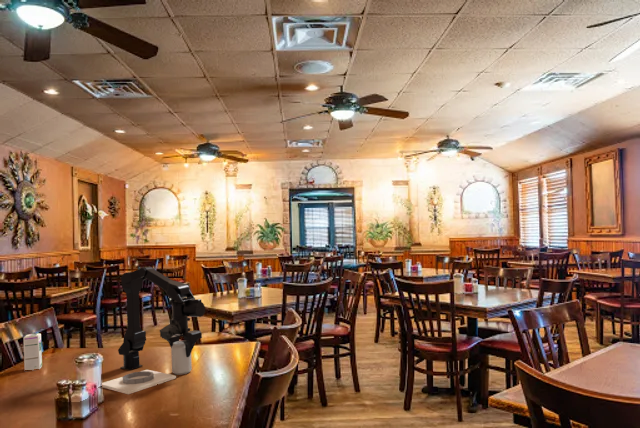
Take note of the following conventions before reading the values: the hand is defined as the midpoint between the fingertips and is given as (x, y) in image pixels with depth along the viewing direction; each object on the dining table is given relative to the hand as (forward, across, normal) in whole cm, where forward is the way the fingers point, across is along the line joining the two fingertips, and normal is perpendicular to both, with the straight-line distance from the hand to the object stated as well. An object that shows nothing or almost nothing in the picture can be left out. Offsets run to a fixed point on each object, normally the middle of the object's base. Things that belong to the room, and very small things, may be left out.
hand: (181, 355), depth 187 cm
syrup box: (+7, -65, -26) cm, 70 cm away
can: (+7, 0, 0) cm, 7 cm away
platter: (+6, -5, -16) cm, 18 cm away
